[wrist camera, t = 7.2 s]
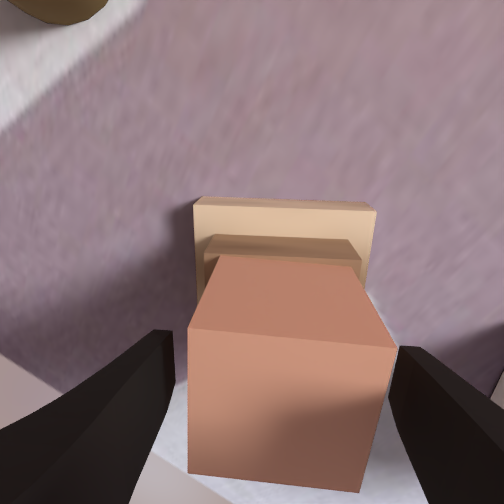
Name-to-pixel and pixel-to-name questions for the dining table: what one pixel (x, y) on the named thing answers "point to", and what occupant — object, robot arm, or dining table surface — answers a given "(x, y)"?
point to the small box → (499, 392)
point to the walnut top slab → (281, 251)
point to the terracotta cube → (285, 374)
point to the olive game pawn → (60, 9)
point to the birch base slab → (282, 224)
